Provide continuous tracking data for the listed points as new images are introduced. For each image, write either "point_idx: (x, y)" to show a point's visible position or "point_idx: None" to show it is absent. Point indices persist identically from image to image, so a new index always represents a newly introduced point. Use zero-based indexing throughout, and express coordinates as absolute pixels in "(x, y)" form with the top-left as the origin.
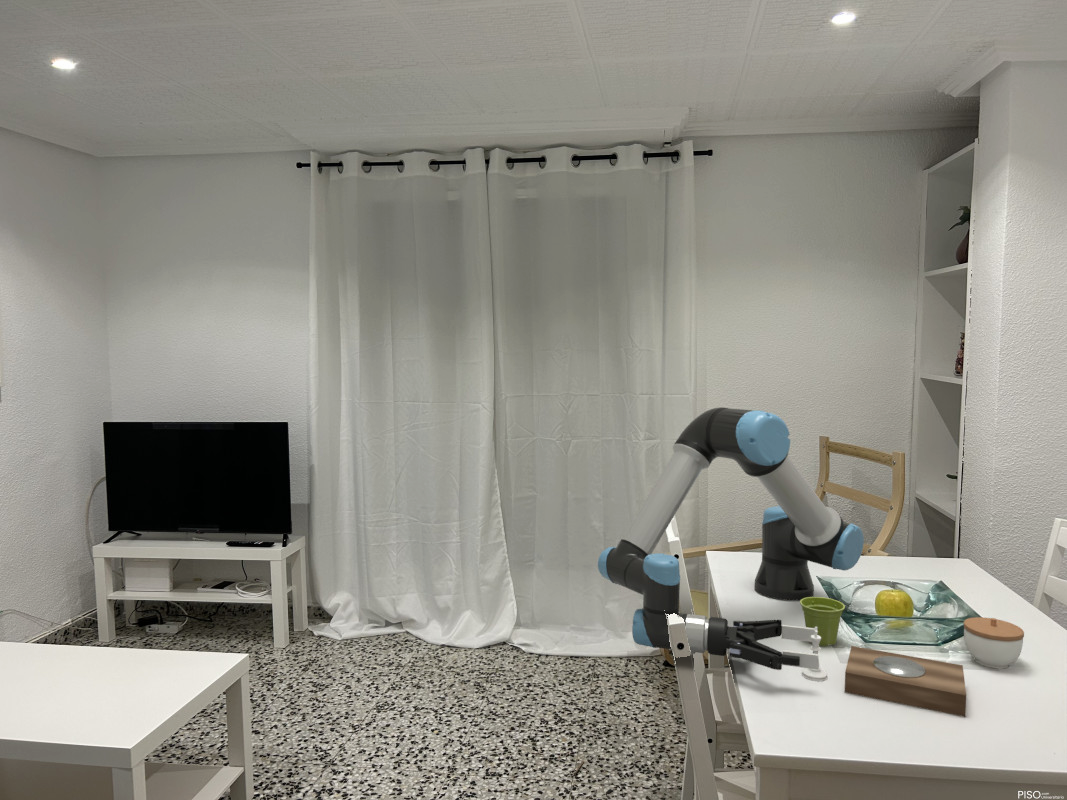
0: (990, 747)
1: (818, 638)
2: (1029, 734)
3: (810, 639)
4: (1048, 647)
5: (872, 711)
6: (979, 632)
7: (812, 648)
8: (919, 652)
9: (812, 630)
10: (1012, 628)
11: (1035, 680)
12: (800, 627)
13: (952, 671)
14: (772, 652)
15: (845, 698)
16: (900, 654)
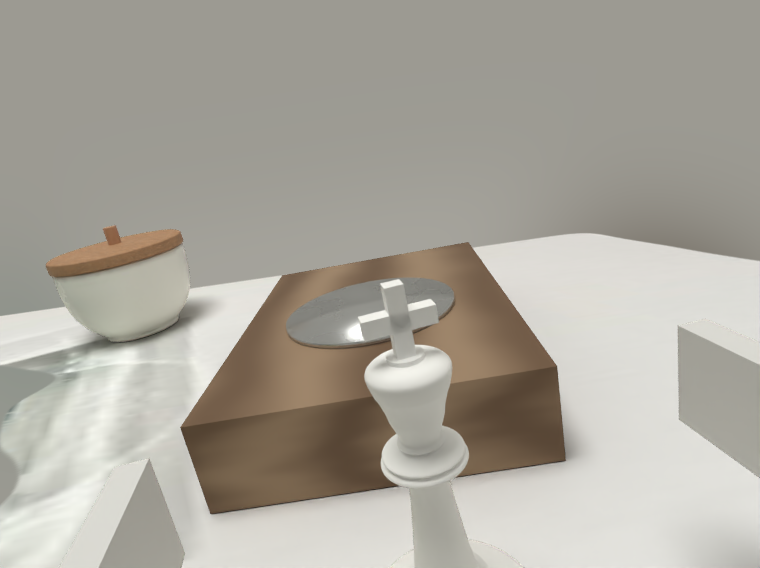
0: (587, 260)
1: (434, 348)
2: None
3: (172, 563)
4: (66, 310)
5: (645, 373)
6: (153, 245)
7: (456, 455)
8: (72, 403)
9: (145, 480)
10: (133, 235)
11: (228, 292)
12: (83, 562)
13: (333, 272)
14: None
15: (626, 445)
16: (244, 332)
